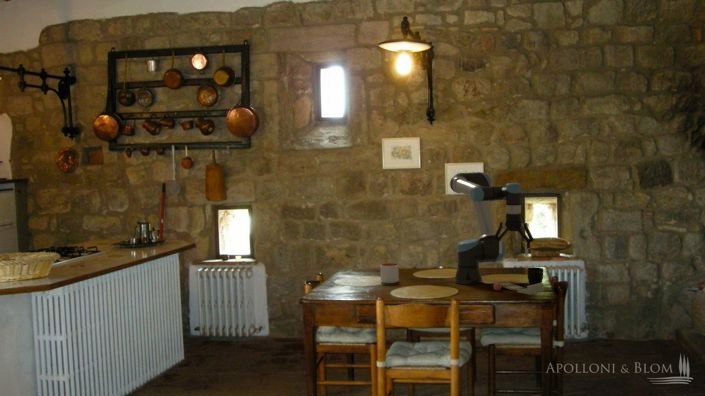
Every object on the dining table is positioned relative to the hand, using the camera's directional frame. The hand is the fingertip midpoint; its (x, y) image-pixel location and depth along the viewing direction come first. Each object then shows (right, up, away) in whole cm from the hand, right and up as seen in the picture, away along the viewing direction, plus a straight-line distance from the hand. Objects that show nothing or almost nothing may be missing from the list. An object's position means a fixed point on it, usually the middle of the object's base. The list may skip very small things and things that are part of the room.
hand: (513, 254), depth 348 cm
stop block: (+8, -19, -3) cm, 21 cm away
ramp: (0, -19, +6) cm, 19 cm away
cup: (-62, -19, +33) cm, 73 cm away
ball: (-8, -17, +2) cm, 19 cm away
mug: (+14, -18, +8) cm, 25 cm away
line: (+5, -19, 0) cm, 20 cm away
